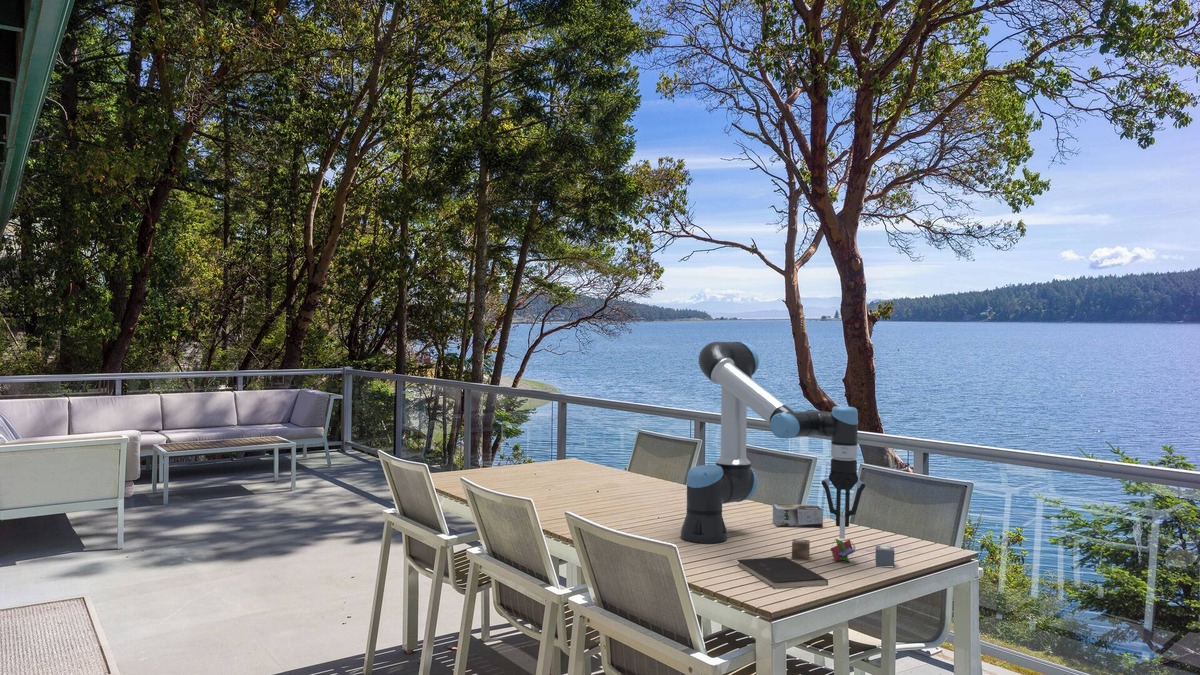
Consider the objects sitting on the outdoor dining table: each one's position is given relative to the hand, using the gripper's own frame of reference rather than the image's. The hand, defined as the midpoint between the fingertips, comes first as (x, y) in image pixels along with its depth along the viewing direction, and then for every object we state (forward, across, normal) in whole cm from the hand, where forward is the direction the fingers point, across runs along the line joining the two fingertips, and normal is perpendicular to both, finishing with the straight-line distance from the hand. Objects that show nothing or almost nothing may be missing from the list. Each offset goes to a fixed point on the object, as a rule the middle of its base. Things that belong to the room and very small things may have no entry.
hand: (842, 537), depth 253 cm
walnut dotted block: (+7, -12, 0) cm, 14 cm away
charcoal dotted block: (+7, +12, 0) cm, 14 cm away
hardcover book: (+8, -16, -21) cm, 28 cm away
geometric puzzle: (+7, 0, 0) cm, 7 cm away
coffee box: (+4, -23, +45) cm, 51 cm away
